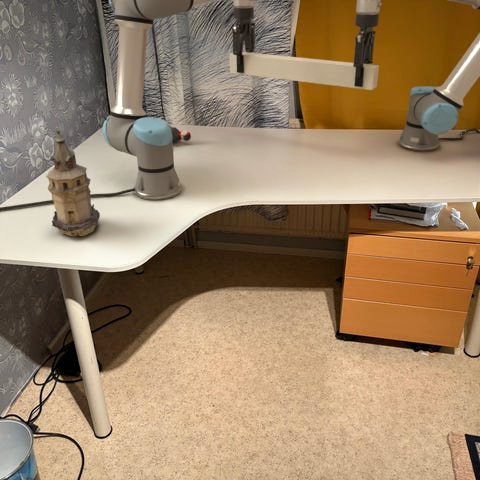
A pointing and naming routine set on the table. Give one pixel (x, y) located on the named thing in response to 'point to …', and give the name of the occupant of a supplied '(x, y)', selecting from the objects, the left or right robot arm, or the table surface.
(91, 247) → the table surface
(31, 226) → the table surface
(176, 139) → the toy
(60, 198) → the miniature building
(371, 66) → the bar
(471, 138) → the table surface
